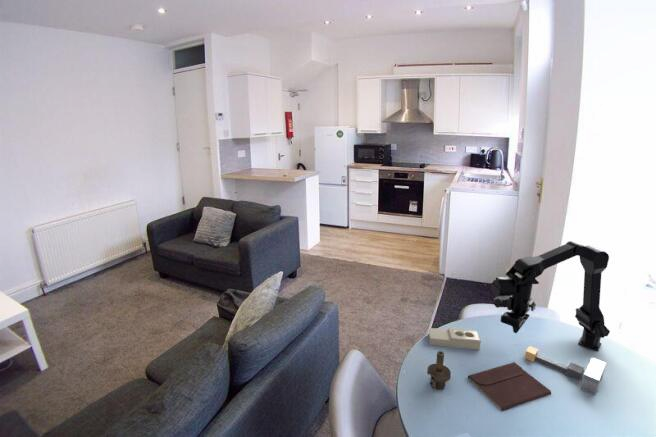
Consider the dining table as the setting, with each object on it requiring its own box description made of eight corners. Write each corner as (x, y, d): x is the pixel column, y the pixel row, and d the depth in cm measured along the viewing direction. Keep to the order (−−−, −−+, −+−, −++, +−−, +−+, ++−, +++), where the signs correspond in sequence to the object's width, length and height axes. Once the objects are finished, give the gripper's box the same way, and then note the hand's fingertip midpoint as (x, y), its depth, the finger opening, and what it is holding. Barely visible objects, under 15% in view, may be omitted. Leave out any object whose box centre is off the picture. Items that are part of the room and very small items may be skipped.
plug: (528, 353, 137) (529, 346, 136) (582, 375, 125) (584, 367, 125) (524, 358, 134) (525, 350, 133) (579, 381, 123) (581, 373, 122)
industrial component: (441, 374, 125) (444, 344, 122) (454, 389, 119) (458, 357, 116) (416, 380, 123) (419, 349, 119) (429, 396, 116) (432, 363, 113)
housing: (588, 370, 128) (591, 357, 126) (602, 376, 125) (606, 362, 123) (580, 388, 119) (583, 374, 118) (595, 395, 117) (599, 380, 115)
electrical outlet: (429, 325, 147) (476, 330, 144) (428, 334, 148) (475, 339, 145) (430, 336, 140) (481, 341, 138) (430, 345, 142) (479, 350, 139)
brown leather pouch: (550, 395, 117) (552, 390, 117) (502, 412, 110) (503, 406, 110) (512, 366, 131) (513, 361, 130) (467, 379, 124) (468, 374, 123)
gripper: (507, 279, 144) (502, 314, 149) (488, 295, 131) (483, 334, 136) (539, 288, 137) (532, 325, 141) (521, 306, 124) (515, 347, 128)
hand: (515, 332), depth 137 cm, fingers closed
